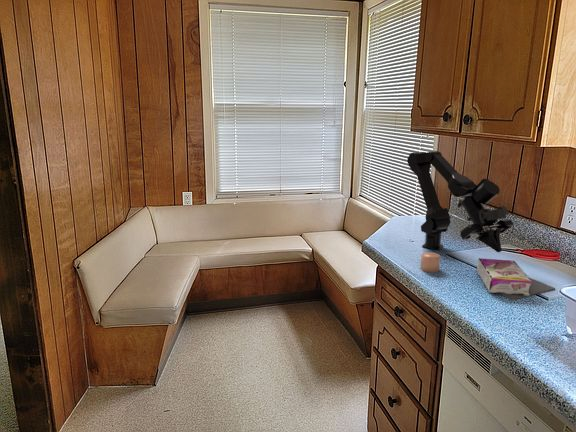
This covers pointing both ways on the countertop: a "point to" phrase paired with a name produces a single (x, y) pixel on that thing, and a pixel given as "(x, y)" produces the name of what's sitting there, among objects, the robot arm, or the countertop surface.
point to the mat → (531, 290)
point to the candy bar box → (503, 277)
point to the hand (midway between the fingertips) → (499, 251)
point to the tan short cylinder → (430, 262)
